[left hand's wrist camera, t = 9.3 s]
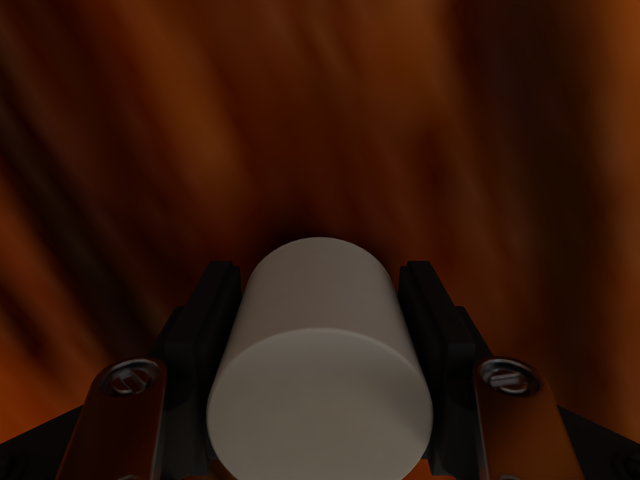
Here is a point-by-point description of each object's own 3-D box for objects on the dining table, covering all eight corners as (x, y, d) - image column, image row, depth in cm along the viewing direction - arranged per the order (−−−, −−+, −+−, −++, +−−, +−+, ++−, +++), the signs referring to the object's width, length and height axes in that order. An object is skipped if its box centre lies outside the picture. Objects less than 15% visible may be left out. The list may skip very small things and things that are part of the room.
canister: (236, 359, 13) (198, 495, 9) (251, 224, 12) (213, 313, 7) (378, 378, 13) (405, 519, 9) (411, 248, 12) (462, 347, 8)
